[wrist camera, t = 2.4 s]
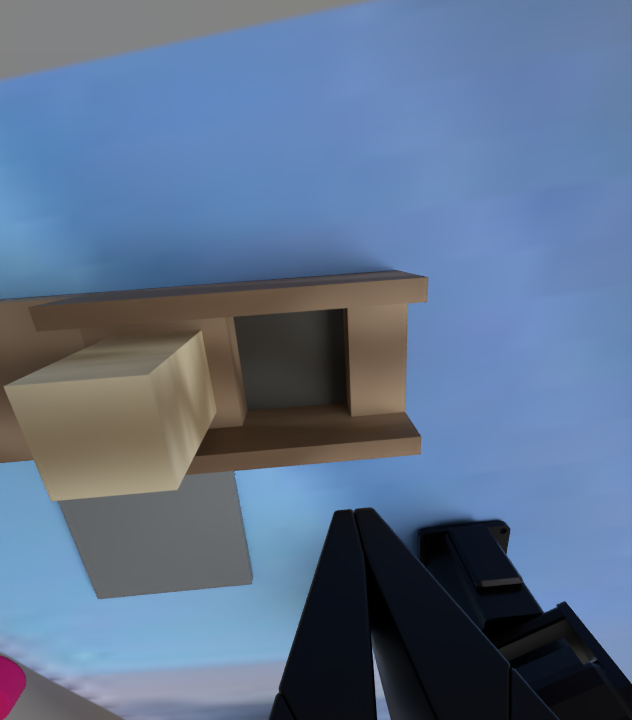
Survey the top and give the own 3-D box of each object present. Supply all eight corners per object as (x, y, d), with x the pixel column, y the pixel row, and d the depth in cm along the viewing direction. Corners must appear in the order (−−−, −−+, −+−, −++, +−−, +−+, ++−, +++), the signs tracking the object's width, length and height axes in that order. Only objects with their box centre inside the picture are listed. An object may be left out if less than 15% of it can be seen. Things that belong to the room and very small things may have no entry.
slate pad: (252, 576, 24) (251, 584, 24) (102, 590, 24) (97, 599, 23) (230, 449, 21) (228, 455, 20) (53, 465, 20) (45, 471, 20)
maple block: (216, 411, 17) (177, 489, 12) (131, 418, 17) (51, 501, 12) (201, 330, 16) (148, 374, 10) (108, 337, 16) (3, 386, 10)
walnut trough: (394, 411, 20) (420, 454, 16) (1, 444, 20) (-81, 498, 15) (396, 270, 18) (428, 277, 13) (-62, 304, 17) (-183, 322, 13)
